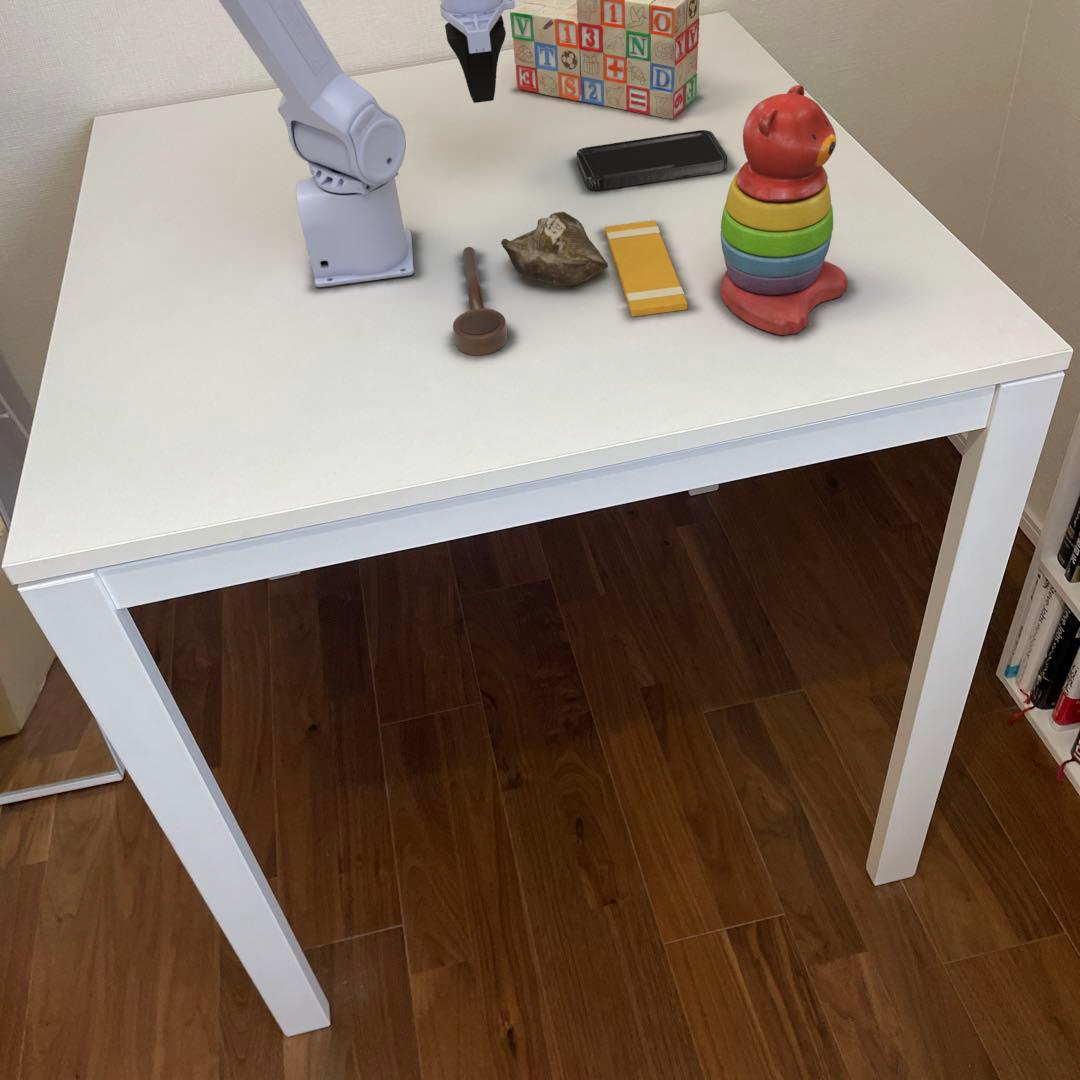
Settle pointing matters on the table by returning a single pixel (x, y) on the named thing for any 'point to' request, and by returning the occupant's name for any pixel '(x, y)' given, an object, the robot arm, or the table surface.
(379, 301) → the table surface
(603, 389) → the table surface
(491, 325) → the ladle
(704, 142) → the phone
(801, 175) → the stacking bear
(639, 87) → the stack of blocks
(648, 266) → the towel
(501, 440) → the table surface
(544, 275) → the fossilized seashell
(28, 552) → the table surface
